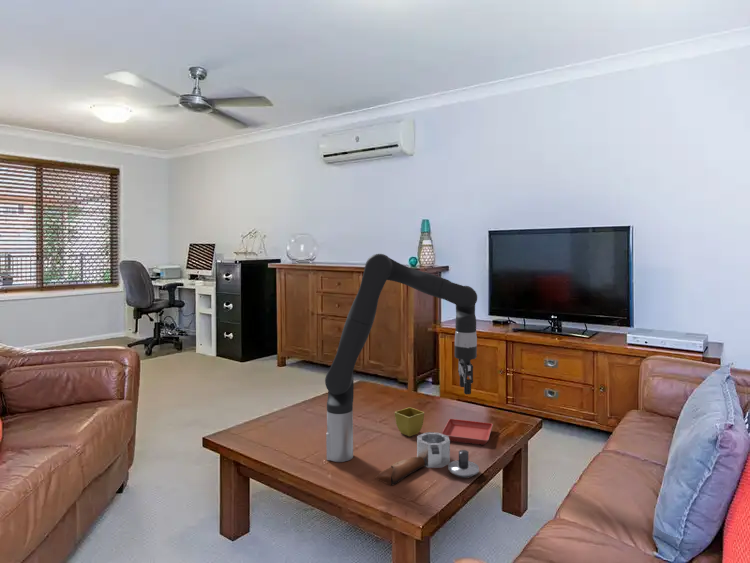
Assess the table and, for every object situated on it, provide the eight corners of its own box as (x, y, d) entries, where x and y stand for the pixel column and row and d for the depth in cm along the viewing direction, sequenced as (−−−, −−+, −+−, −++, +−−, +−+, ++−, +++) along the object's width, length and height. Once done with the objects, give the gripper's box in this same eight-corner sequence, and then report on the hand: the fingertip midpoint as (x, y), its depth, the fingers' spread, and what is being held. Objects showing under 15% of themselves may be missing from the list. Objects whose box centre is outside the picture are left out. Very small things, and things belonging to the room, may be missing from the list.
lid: (450, 481, 161) (450, 458, 161) (446, 467, 171) (446, 445, 171) (481, 481, 161) (481, 458, 160) (475, 467, 171) (475, 445, 170)
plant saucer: (488, 448, 187) (488, 439, 187) (440, 442, 193) (440, 434, 193) (493, 431, 204) (493, 423, 204) (449, 426, 210) (449, 418, 210)
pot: (419, 471, 168) (419, 448, 167) (415, 450, 185) (415, 429, 184) (452, 471, 168) (452, 448, 167) (445, 450, 185) (445, 429, 184)
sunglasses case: (405, 460, 177) (413, 446, 174) (419, 474, 173) (427, 461, 171) (372, 478, 163) (380, 464, 160) (387, 495, 159) (395, 480, 157)
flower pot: (408, 439, 195) (408, 417, 194) (394, 433, 202) (394, 411, 201) (424, 434, 201) (424, 412, 200) (409, 428, 207) (409, 407, 207)
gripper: (451, 340, 179) (451, 384, 181) (458, 348, 165) (457, 396, 166) (472, 340, 179) (471, 384, 181) (481, 348, 165) (480, 396, 166)
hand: (465, 390), depth 173 cm, fingers open, 8 cm apart
